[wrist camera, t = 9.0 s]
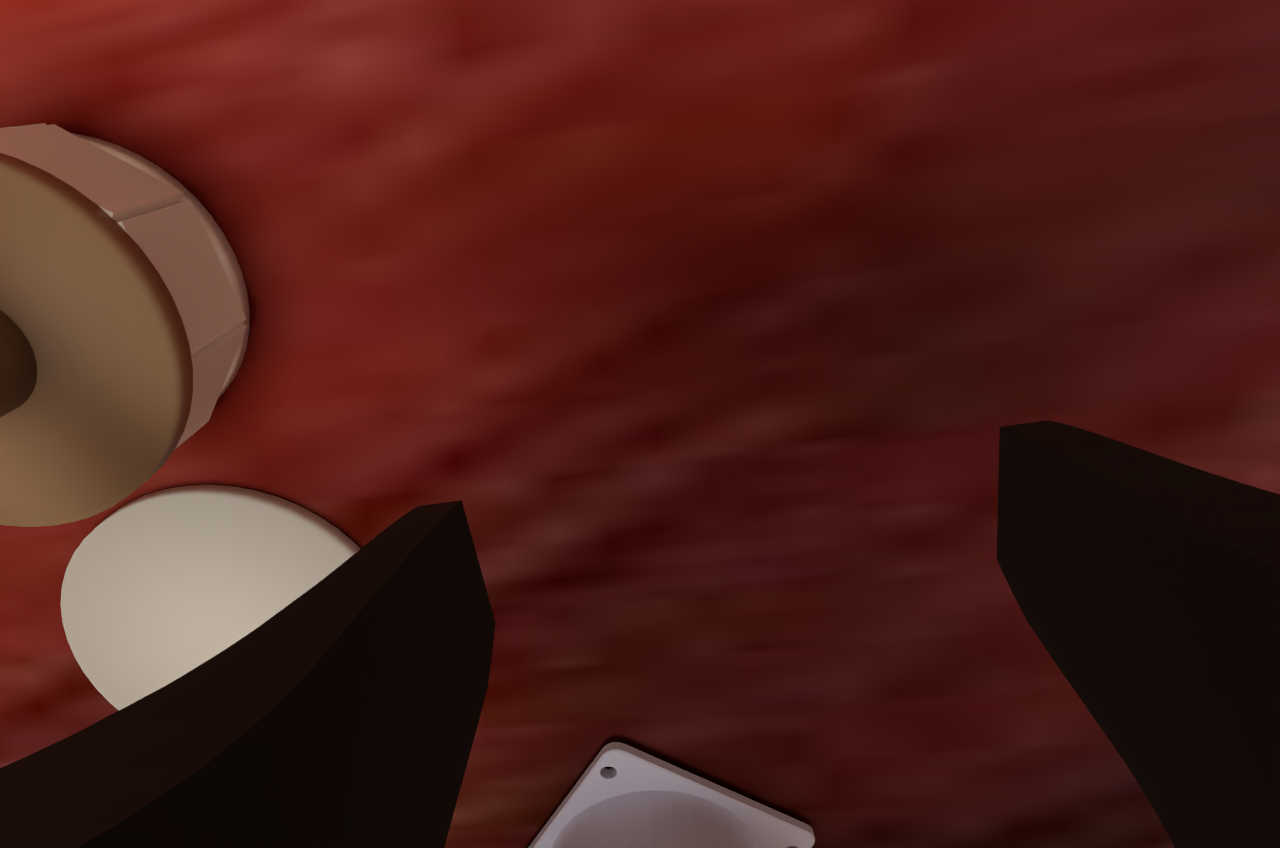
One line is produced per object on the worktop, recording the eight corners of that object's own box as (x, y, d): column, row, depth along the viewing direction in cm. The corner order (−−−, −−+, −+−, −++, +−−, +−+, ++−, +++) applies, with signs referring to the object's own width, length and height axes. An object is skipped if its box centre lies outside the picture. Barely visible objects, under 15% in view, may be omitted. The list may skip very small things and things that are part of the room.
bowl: (195, 476, 23) (122, 545, 19) (-92, 344, 21) (-223, 395, 18) (293, 237, 20) (226, 271, 17) (-27, 66, 18) (-168, 68, 15)
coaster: (332, 789, 27) (326, 804, 27) (38, 672, 25) (24, 686, 25) (456, 578, 24) (451, 590, 23) (127, 425, 22) (113, 435, 21)
